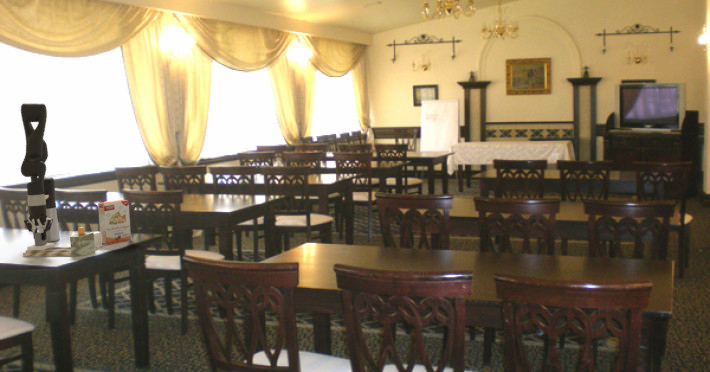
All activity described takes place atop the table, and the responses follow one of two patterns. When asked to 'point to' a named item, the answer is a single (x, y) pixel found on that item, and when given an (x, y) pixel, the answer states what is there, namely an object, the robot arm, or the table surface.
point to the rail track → (79, 247)
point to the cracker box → (114, 221)
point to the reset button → (81, 230)
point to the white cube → (97, 238)
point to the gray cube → (40, 243)
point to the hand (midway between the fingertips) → (40, 240)
